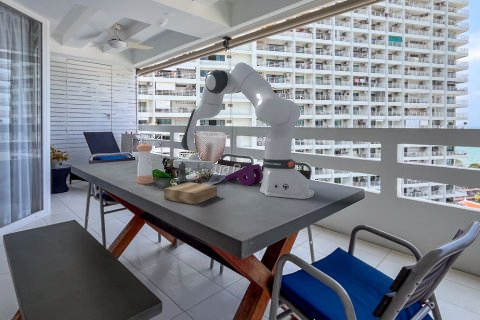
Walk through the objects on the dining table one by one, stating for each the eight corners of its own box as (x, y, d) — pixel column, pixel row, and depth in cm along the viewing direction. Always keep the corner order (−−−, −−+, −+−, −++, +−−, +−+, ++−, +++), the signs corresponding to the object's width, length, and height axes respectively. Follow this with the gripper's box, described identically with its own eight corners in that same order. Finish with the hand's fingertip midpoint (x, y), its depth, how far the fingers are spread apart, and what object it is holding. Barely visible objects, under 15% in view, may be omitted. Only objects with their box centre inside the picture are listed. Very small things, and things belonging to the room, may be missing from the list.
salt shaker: (140, 184, 126) (139, 143, 124) (134, 182, 131) (133, 142, 129) (155, 182, 131) (154, 142, 129) (149, 180, 136) (148, 142, 134)
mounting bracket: (227, 194, 135) (254, 182, 125) (221, 178, 137) (248, 165, 126) (238, 190, 143) (265, 179, 132) (233, 175, 144) (259, 163, 134)
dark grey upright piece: (188, 189, 117) (188, 161, 116) (174, 189, 117) (174, 161, 115) (189, 186, 123) (189, 160, 122) (176, 186, 123) (176, 160, 121)
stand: (216, 196, 106) (217, 186, 106) (194, 204, 94) (194, 193, 94) (188, 191, 113) (188, 182, 113) (164, 198, 101) (164, 188, 101)
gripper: (177, 155, 145) (168, 158, 132) (215, 157, 144) (210, 160, 130) (177, 167, 146) (168, 171, 133) (215, 169, 144) (210, 173, 131)
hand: (189, 166), depth 131 cm, fingers open, 8 cm apart
